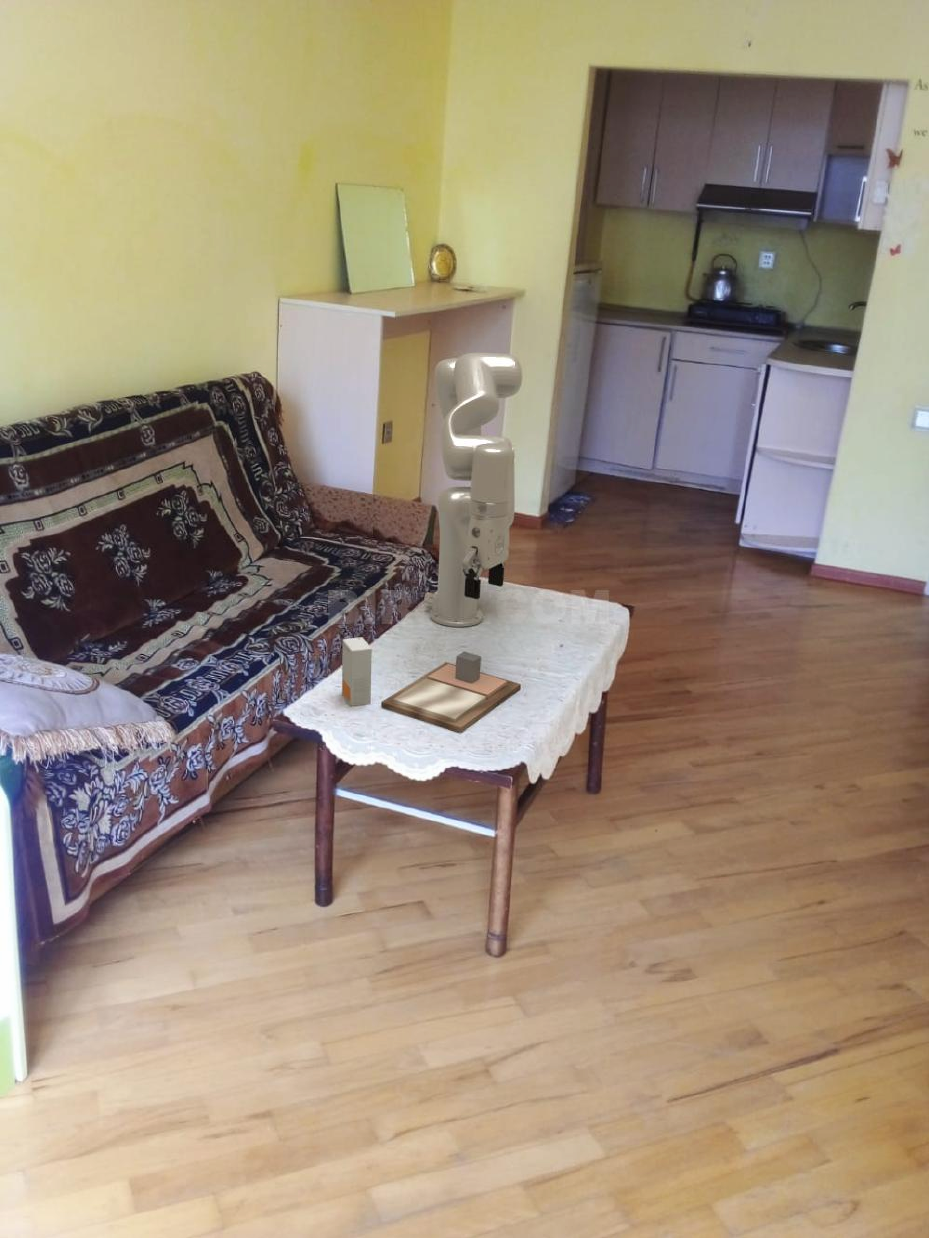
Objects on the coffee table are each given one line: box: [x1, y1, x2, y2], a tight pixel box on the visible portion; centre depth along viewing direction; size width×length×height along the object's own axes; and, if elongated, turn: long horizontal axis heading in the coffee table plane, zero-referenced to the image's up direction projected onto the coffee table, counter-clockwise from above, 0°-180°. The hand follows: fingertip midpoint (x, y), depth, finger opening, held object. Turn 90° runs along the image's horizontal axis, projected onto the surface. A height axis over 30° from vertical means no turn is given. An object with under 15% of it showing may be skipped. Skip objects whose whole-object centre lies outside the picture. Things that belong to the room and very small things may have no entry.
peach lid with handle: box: [428, 651, 507, 698], centre depth 223 cm, size 14×8×6 cm, turn 59°
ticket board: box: [380, 661, 522, 734], centre depth 220 cm, size 18×24×2 cm
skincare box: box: [341, 636, 373, 707], centre depth 215 cm, size 6×4×12 cm
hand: (483, 591), depth 220 cm, fingers open, 9 cm apart
